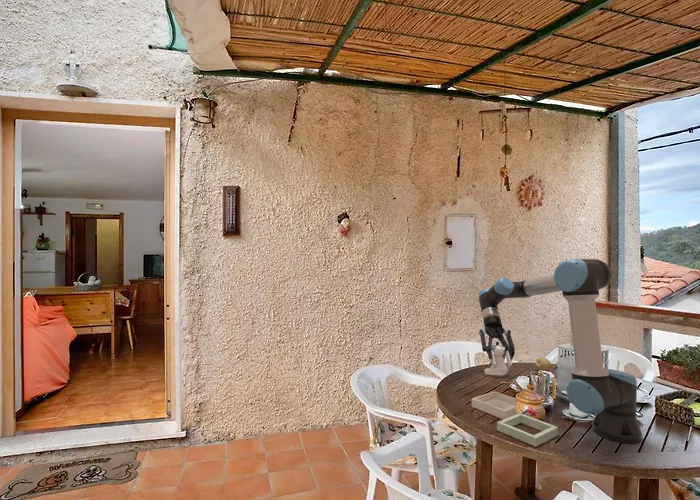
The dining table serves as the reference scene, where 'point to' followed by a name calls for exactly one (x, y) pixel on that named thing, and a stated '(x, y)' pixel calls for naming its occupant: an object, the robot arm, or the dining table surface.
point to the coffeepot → (503, 357)
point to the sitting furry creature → (498, 363)
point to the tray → (495, 404)
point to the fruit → (543, 364)
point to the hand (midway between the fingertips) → (502, 366)
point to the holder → (535, 440)
